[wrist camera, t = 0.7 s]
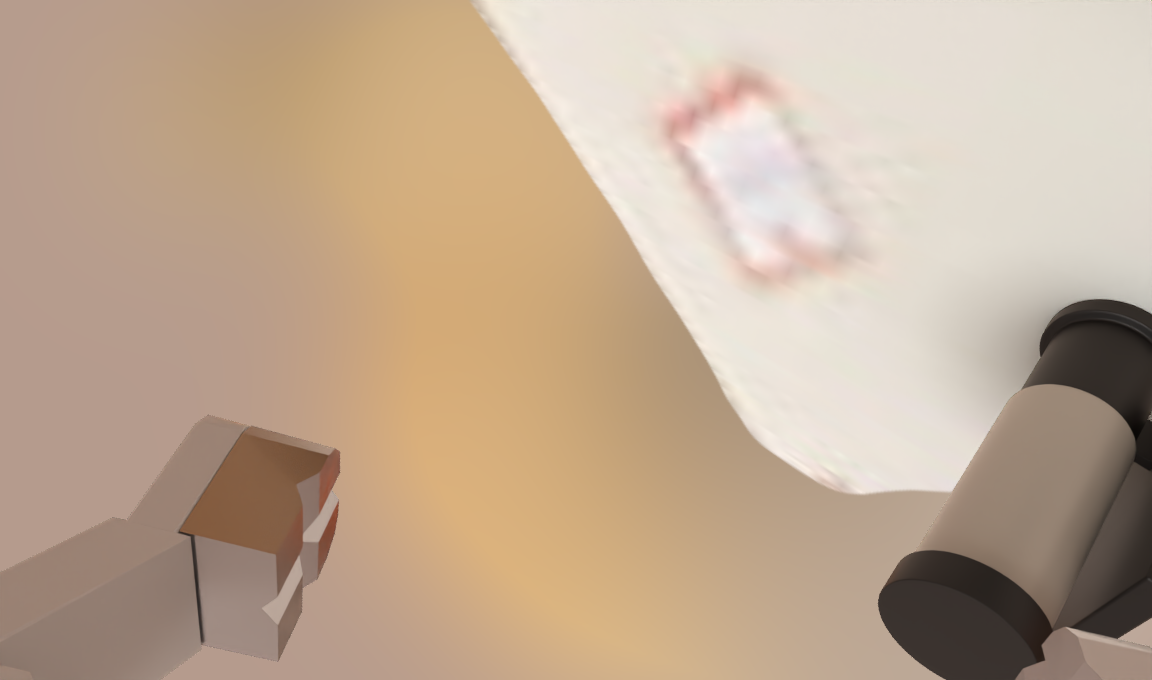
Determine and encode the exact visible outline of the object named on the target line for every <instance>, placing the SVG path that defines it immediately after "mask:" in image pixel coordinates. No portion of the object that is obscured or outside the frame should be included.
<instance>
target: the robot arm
mask: <svg viewBox="0 0 1152 680" xmlns="http://www.w3.org/2000/svg"><path fill="white" fill-rule="evenodd" d="M339 473H340V451H338V450H337V449H335V448H332V447H328V446H324V445H321V444H317V443H313V442H309V441H306V440H302V439H299V438H295V437H291V436H288V435H284V434H280V433H277V432H273V431H269V430H265V429H262V428H258V427H254V426H249V425H245V424H241V423H237V422H234V421H230V420H226V419H223V418H219V417H215V416H211V415H207V416H206V417H204V418H203V419H201V420H200V421H198V422H197V423H196V424H195V425H194V426H193V428H192V429H191V431H190V432H189V433H188V435H187V436H186V438H185V439H184V440H183V442H182V443H181V444H180V446H179V447H178V449H177V450H176V451H175V453H174V454H173V456H172V457H171V458H170V460H169V461H168V463H167V464H166V465H165V467H164V468H163V470H162V471H161V473H160V474H159V475H158V477H157V478H156V479H155V481H154V482H153V484H152V485H151V487H150V488H149V489H148V491H147V492H146V494H145V495H144V496H143V498H142V499H141V500H140V502H139V503H138V505H137V506H136V507H135V509H134V510H133V512H132V513H131V514H130V516H129V517H128V519H127V520H124V519H119V518H114V517H112V518H110V519H108V520H106V521H104V522H102V523H100V524H98V525H96V526H94V527H92V528H90V529H88V530H86V531H84V532H82V533H80V534H78V535H76V536H74V537H71V538H69V539H67V540H65V541H63V542H61V543H59V544H57V545H55V546H53V547H51V548H49V549H47V550H45V551H43V552H41V553H39V554H37V555H35V556H33V557H30V558H28V559H26V560H24V561H22V562H20V563H18V564H16V565H14V566H12V567H10V568H8V569H6V570H4V571H2V572H0V680H161V679H162V678H164V677H165V676H167V675H168V674H169V673H170V672H172V671H173V670H175V669H176V668H177V667H179V666H180V665H181V664H183V663H184V662H186V661H187V660H188V659H190V658H191V657H192V656H194V655H195V654H196V653H198V652H199V651H200V650H201V645H205V646H209V647H213V648H218V649H223V650H227V651H231V652H236V653H241V654H245V655H250V656H254V657H259V658H263V659H268V660H273V661H277V662H278V661H279V659H280V657H281V655H282V653H283V650H284V648H285V646H286V644H287V642H288V640H289V638H290V636H291V634H292V632H293V630H294V628H295V625H296V623H297V621H298V619H299V617H300V615H301V613H302V590H303V588H304V587H305V586H307V585H309V584H310V583H312V582H313V581H315V580H317V579H318V577H319V574H320V572H321V570H322V568H323V565H324V563H325V561H326V559H327V556H328V553H329V550H330V546H331V543H332V540H333V537H334V534H335V529H336V523H337V518H338V507H339V499H338V498H337V497H336V495H335V494H334V493H333V491H332V488H333V486H334V484H335V482H336V480H337V477H338V476H339ZM1042 649H1043V653H1044V657H1045V661H1042V662H1039V663H1037V664H1034V665H1031V666H1029V667H1026V668H1023V669H1022V670H1021V672H1020V673H1019V675H1018V676H1017V677H1016V679H1015V680H1152V648H1151V647H1149V646H1145V645H1141V644H1136V643H1132V642H1128V641H1124V640H1119V639H1115V638H1111V637H1107V636H1103V635H1098V634H1094V633H1090V632H1085V631H1081V630H1077V629H1073V628H1068V627H1063V628H1061V629H1058V630H1056V631H1053V632H1052V633H1051V635H1050V636H1049V637H1048V638H1047V639H1046V641H1045V642H1044V643H1043V644H1042Z"/></svg>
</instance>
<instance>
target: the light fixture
mask: <svg viewBox="0 0 1152 680" xmlns="http://www.w3.org/2000/svg"><path fill="white" fill-rule="evenodd" d="M1040 357H1041V358H1040V360H1039V361H1038V363H1037V365H1036V366H1035V368H1034V370H1033V371H1032V373H1031V375H1030V376H1029V378H1028V379H1027V381H1026V383H1025V384H1024V386H1023V388H1022V389H1021V391H1019V392H1017V393H1016V394H1014V395H1013V396H1012V397H1011V398H1010V399H1009V401H1008V402H1007V403H1006V405H1005V407H1004V408H1003V410H1002V412H1001V413H1000V415H999V416H998V418H997V420H996V421H995V423H994V425H993V426H992V428H991V429H990V431H989V433H988V434H987V436H986V438H985V439H984V441H983V442H982V444H981V446H980V447H979V449H978V451H977V452H976V454H975V455H974V457H973V459H972V460H971V462H970V464H969V465H968V467H967V468H966V470H965V472H964V473H963V475H962V477H961V478H960V480H959V481H958V483H957V485H956V486H955V488H954V490H953V491H952V493H951V494H950V496H949V498H948V499H947V501H946V503H945V504H944V506H943V507H942V509H941V511H940V512H939V514H938V516H937V517H936V519H935V521H934V522H933V524H932V525H931V527H930V529H929V530H928V532H927V534H926V535H925V537H924V539H923V540H922V542H921V543H920V545H919V546H918V548H917V550H916V551H915V552H914V553H911V554H909V555H907V556H906V557H904V558H903V559H902V560H901V561H900V562H899V563H898V565H897V566H896V568H895V570H894V571H893V573H892V575H891V576H890V578H889V579H888V581H887V583H886V584H885V586H884V587H883V589H882V591H881V593H880V595H879V599H878V607H879V612H880V615H881V618H882V620H883V622H884V624H885V626H886V628H887V629H888V631H889V632H890V634H891V635H892V637H893V638H894V639H895V640H896V641H897V643H898V644H899V645H900V646H901V647H902V648H903V649H904V650H905V651H906V652H907V653H908V654H910V655H911V656H912V657H913V658H914V659H915V660H917V661H918V662H919V663H921V664H922V665H923V666H925V667H926V668H927V669H929V670H930V671H932V672H934V673H935V674H937V675H939V676H940V677H942V678H944V679H946V680H1015V679H1016V677H1017V676H1018V675H1019V673H1020V672H1021V670H1022V669H1023V668H1026V667H1029V666H1031V665H1034V664H1037V663H1039V662H1042V661H1045V657H1044V653H1043V649H1042V644H1043V643H1044V642H1045V641H1046V639H1047V638H1048V637H1049V636H1050V635H1051V633H1052V632H1053V631H1056V630H1058V629H1061V628H1063V627H1068V628H1073V629H1077V630H1081V631H1085V632H1090V633H1094V634H1098V635H1103V636H1107V637H1111V638H1115V639H1118V638H1119V637H1121V636H1123V635H1124V634H1126V633H1128V632H1129V631H1131V630H1132V629H1134V628H1136V627H1137V626H1139V625H1141V624H1142V623H1144V622H1146V621H1147V620H1149V619H1150V618H1152V422H1151V421H1150V420H1148V417H1149V415H1150V413H1151V411H1152V315H1151V314H1149V313H1147V312H1145V311H1143V310H1141V309H1139V308H1137V307H1134V306H1131V305H1128V304H1125V303H1121V302H1116V301H1108V300H1090V301H1083V302H1079V303H1076V304H1073V305H1070V306H1068V307H1066V308H1065V309H1063V310H1061V311H1060V312H1059V313H1058V314H1056V315H1055V316H1054V317H1053V319H1052V320H1051V321H1050V323H1049V325H1048V326H1047V328H1046V329H1045V331H1044V333H1043V335H1042V338H1041V341H1040Z"/></svg>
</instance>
